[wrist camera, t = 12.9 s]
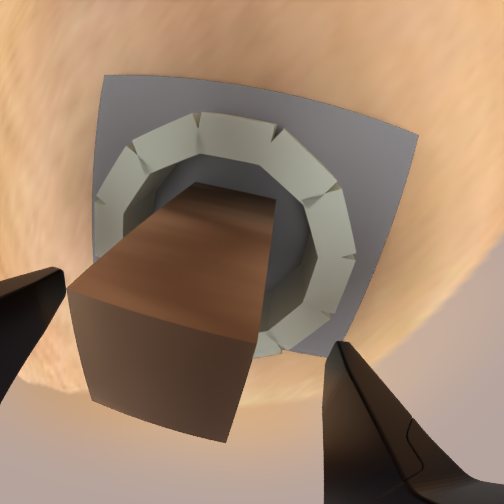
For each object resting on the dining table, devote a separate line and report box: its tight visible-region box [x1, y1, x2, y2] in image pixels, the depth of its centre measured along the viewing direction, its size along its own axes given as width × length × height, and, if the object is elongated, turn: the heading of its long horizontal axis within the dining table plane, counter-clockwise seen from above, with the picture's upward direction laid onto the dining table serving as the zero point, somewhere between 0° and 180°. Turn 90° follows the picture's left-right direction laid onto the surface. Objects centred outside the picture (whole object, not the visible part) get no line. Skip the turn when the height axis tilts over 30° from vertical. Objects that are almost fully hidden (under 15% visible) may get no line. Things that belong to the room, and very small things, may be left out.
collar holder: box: [92, 75, 419, 358], centre depth 14 cm, size 16×14×5 cm
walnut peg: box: [67, 182, 276, 443], centre depth 11 cm, size 4×4×10 cm
